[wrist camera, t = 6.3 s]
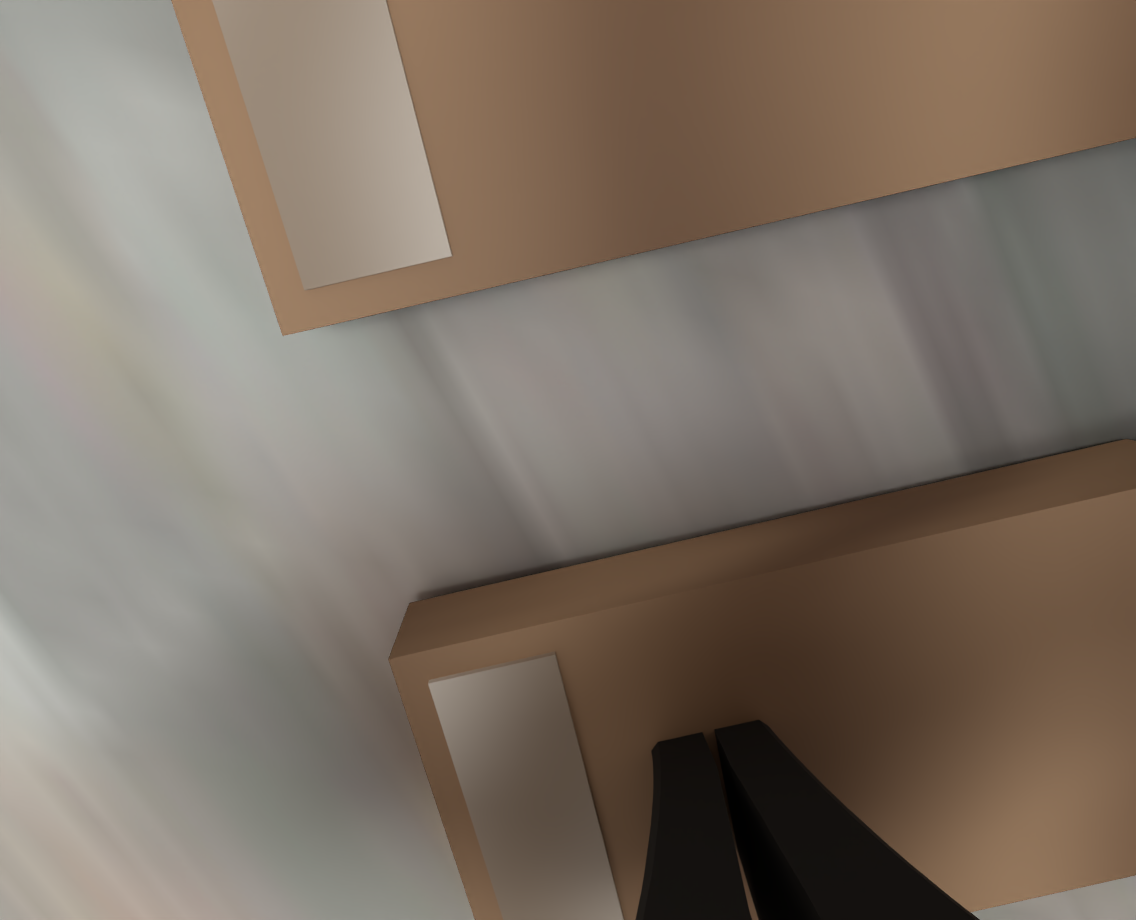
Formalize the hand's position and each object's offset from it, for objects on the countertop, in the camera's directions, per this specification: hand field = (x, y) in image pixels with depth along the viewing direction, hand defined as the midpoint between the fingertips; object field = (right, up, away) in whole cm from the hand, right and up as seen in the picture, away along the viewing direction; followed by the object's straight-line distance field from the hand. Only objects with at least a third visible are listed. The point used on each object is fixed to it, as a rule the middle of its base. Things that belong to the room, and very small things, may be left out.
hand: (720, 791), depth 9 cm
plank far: (+2, +1, +1) cm, 3 cm away
